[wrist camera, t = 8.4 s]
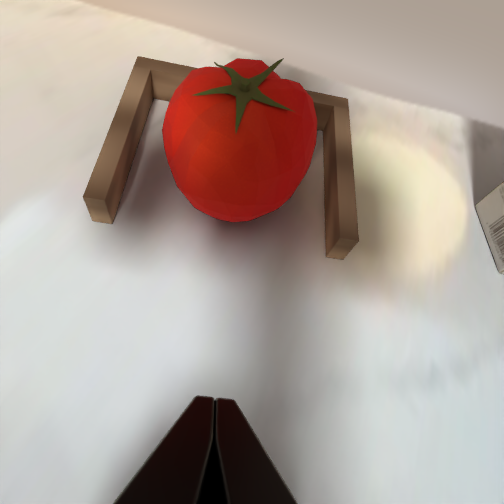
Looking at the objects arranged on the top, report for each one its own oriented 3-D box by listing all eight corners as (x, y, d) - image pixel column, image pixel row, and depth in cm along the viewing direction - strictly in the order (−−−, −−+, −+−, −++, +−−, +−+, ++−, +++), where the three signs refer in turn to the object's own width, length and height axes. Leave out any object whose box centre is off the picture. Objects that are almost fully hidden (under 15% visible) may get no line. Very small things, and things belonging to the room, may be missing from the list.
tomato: (296, 145, 29) (335, 42, 21) (294, 258, 24) (344, 174, 16) (179, 124, 28) (178, 8, 20) (151, 237, 23) (136, 137, 15)
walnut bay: (343, 259, 24) (358, 241, 22) (92, 221, 22) (83, 196, 20) (336, 123, 31) (347, 98, 28) (141, 85, 29) (137, 56, 27)
